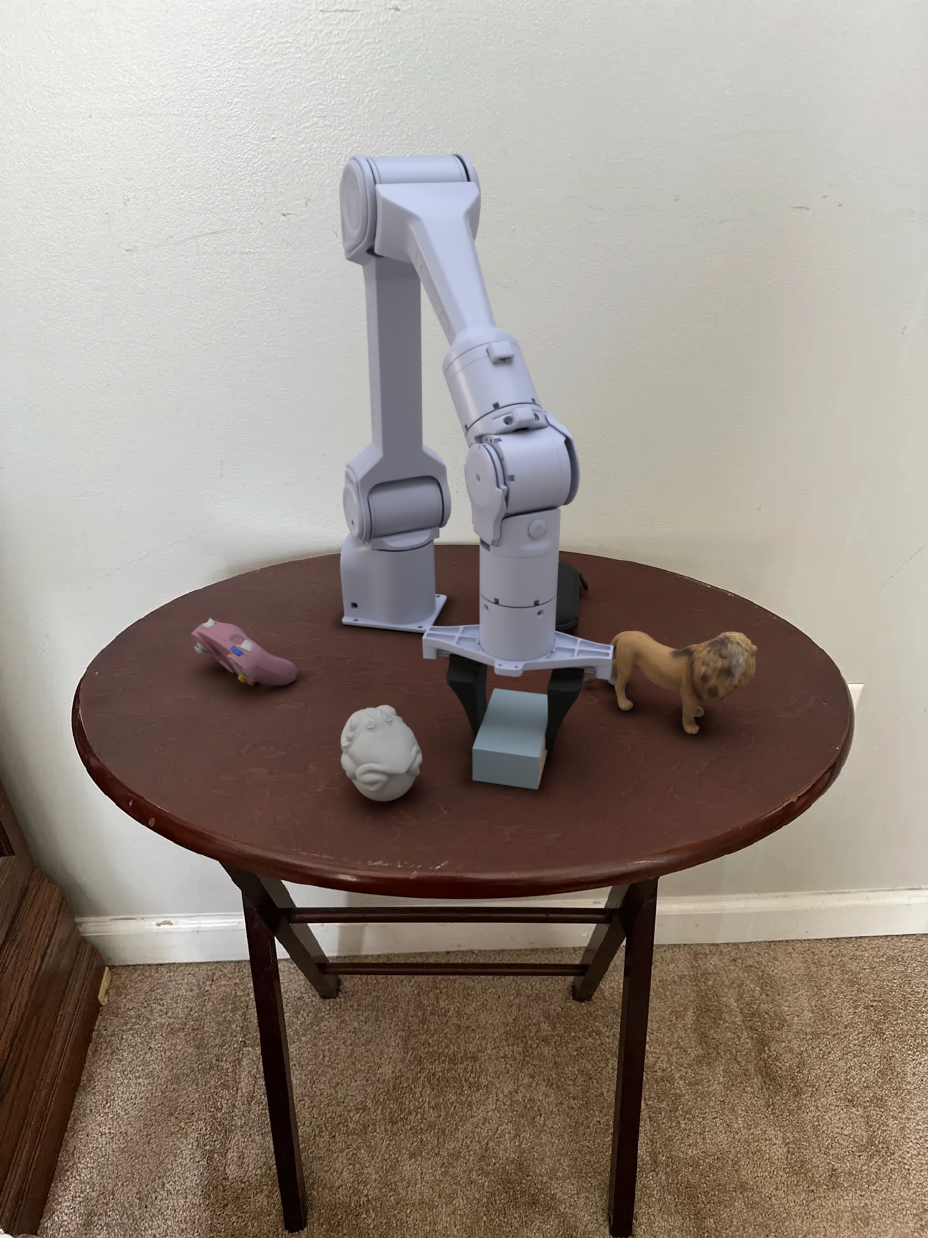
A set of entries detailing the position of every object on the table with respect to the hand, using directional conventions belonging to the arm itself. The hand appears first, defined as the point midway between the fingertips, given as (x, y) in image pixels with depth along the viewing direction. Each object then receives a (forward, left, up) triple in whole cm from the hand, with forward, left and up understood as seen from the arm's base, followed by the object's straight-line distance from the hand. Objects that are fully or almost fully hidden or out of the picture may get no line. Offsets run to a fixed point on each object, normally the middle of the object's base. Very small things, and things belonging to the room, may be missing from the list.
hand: (514, 738), depth 69 cm
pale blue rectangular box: (0, 0, -1) cm, 1 cm away
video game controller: (-27, +6, -2) cm, 28 cm away
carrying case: (-2, +25, -2) cm, 25 cm away
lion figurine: (+12, +9, -2) cm, 15 cm away
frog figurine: (-9, -7, -2) cm, 12 cm away
